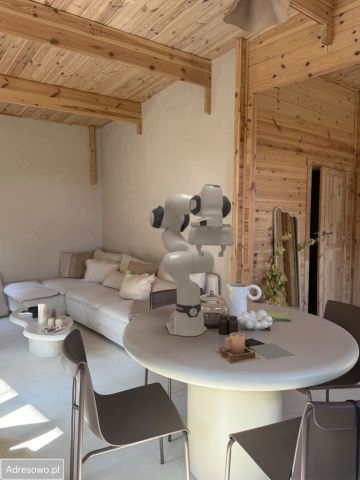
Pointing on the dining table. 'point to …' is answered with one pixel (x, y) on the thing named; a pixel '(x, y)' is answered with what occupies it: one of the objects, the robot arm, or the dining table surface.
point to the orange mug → (235, 343)
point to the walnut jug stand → (237, 358)
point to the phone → (265, 329)
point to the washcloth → (279, 316)
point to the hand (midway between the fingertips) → (211, 256)
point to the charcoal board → (271, 351)
